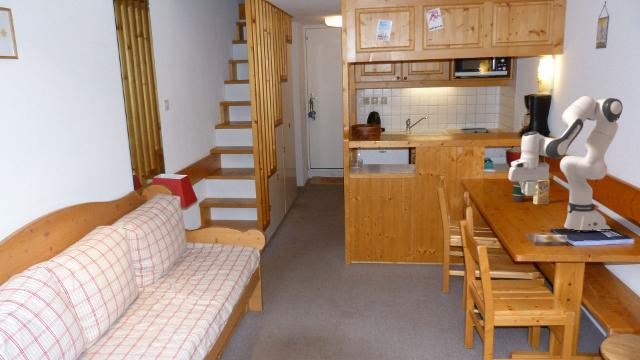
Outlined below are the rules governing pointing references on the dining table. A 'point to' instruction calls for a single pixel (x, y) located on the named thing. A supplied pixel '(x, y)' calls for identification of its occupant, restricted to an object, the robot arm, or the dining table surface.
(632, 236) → the dining table surface
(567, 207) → the robot arm
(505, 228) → the dining table surface
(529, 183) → the carton
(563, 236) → the shelf
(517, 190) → the beer bottle
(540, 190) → the candy box
